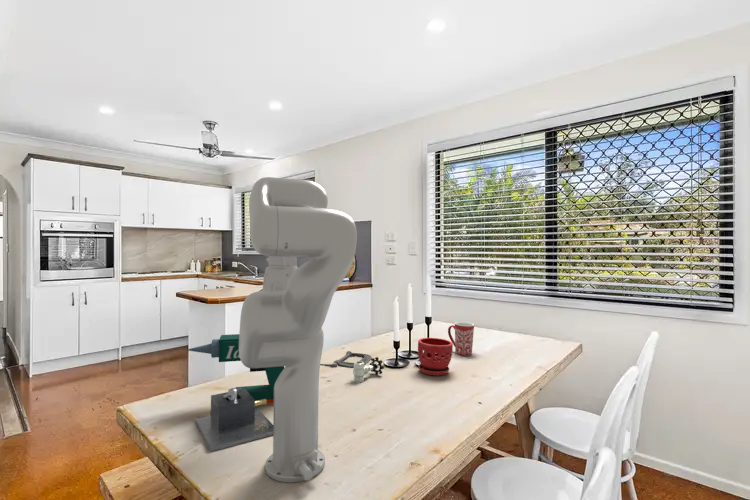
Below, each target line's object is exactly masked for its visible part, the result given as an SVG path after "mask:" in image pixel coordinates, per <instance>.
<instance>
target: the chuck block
mask: <svg viewBox="0 0 750 500" xmlns="http://www.w3.org/2000/svg"><path fill="white" fill-rule="evenodd" d="M225 394H228V391H227V392H221V393H217V394H211V395H210V415H206V416H201V417H198V418H195V424H196V426H197V428H198V430H199V432H200V434H201V436H202V438H203V439H204V442H205V444H206V447H207V448H208V450H209V452H210V453H211V452H216V451H218V450H219V451H220V450H222V449H225V448H226V449H227V448H231V447H234V446H237V445H238V446H239V445H241V444H244V443H250V442H252V441H256V440H261V439H263V438H267V437H271V436H273V423H272V422H271V421H270V420H269V418H268V417H267V416H266V415H265V414H264V413H263V412H262V411H261V410H260V409H259V408H258V407H259V406H263V405H267V404H266V403H267V401H266V399H262V400H257V401H255V399H254V398H253V397H252V396H251V395H250V394H249V393H248V392H247V391H246V390H245V389H242V392H239V393H237V399H235V400H230V401H228V398H226V399H223V395H225Z"/></svg>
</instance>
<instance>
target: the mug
mask: <svg viewBox="0 0 750 500" xmlns="http://www.w3.org/2000/svg"><path fill="white" fill-rule="evenodd" d="M453 324H454V325H450V326H448V328H447V334H448V337H449V341H450V342H452V343H453V347H455V349H454V352H455V354H456V355H459V356H463V355H465V356H467V355H469V356H471V355H473V346H474V344H473V342H474V335H475V334H474V332H475V324H474V323H473V322H467V321H457V322H454V323H453ZM452 328H453V329H454V338H453V336H452V332H451V331H452V330H451V329H452Z"/></svg>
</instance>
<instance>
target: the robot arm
mask: <svg viewBox="0 0 750 500" xmlns="http://www.w3.org/2000/svg"><path fill="white" fill-rule="evenodd" d="M328 201H329V200H328V194H327V192H326V190H325V189H324V188H323V187H322V186H321V185H320V183H319V184H318V183H317V182H315V181H312V180H309V179H303V178H302V179H300V178H284V177H271V176H270V177H269V176H266V177H262V178H259V179H258V180H256V182H255V183H254V184H253V186H252V188H251V190H250V194H249V201H248V208H249V209H248V211H249V214H248V215H249V227H250V228H249V232H250V240H251V241H250V242H251V244H252V247H253V249H254V250H255V251H256V253H258V254H260V255H262V256H263V257H264V256H265V257H266V258H265V262H266V263H268V266H266V267H265V270H264V275H263V281H262V288H261V289H260V290H258V291H254V292H252V293H250V294H249V295H246V297H245V299H244V301H243V303H242V307H241V309H240V310H241V311H240V312H241V313H240V320H239V333H238V334H239V356H240V359H241V361H240V362H241V364H242V365H243V366H244V367H246V368H248V369H250V368H267V367H278V366H284V369H283V371H282V372H281V373H280V375H279V376H278V378H277V380H276V382H275V386H274V403H273V415H272V416H273V419H272V420H273V423H272V424H273V435H272V436H273V437H272V444H273V445H272V454H270V455H269V456H268V457H267V458H266V461H265V463H264V465H265V466H264V468H265V472H266V474H267V475H268V476H269V478H271V479H272V480H275V481H279V482H281V483H282V482H283V483H296V482H302V481H310V480H311V479H312V478H314V477H315V476H317V475H319V474H320V473H321V471H323V469H324V467H325V464H326V457H325V455H324V454H323V452H322V451H320V450H319V401H320V400H319V399H320V398H319V397H320V396H319V395H320V394H319V393H320V391H319V390H320V389H319V387H320V386H319V385H320V384H319V383H320V368H321V365H320V364H321V360H322V354H323V347H324V341H325V338H324V337H325V335H324V330H323V329H322V328H323V326H324V323H325V321H326V319H327V318H326V317H327V315H328V311H329V309H330V306H331V303H332V300H333V297H334V294H335V293H336V292H337V290H338V288H339V287H340V285H341V284H342V282H343V281H344V280H345V278H346V277H347V276H348V273H349V271H350V269H351V267H352V264H353V262H354V258H355V255H356V250H357V243H358V242H357V241H358V231H357V225H356V223H355V220H354V219H353V218H352V217H351V216H350V215H348V214H347V213H345V212H343V211H340V210H337V209H333V208H332V209H330V208H328V203H329V202H328ZM299 257H301V258H302V257H305V258H306V257H307V258H308V257H309V258H310V257H311V258H310V259H308V260H306V261H305V262H304V263H302V264H301V265H300V266H299V267H298V265H297V264H298V262H297V261H298V260H297V259H298V258H299Z"/></svg>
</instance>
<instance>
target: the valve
mask: <svg viewBox="0 0 750 500" xmlns="http://www.w3.org/2000/svg"><path fill="white" fill-rule="evenodd" d="M370 361H371V362H370V363H369V365H367V364H365V365H364V362H362V361H360V360H357V361H354V362H353V363H354V368H352V374H353V381H354V382H355V383H362V382H363V383H364V382H365V375H367V374H368V373H369V372H372V373H374V375H375V376H378V375H382V374H383V371H382V370H384V369H385V365H382V364H383V360H382V359H380V360H379V356H375V358H374V357H372V359H371V360H370Z"/></svg>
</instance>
